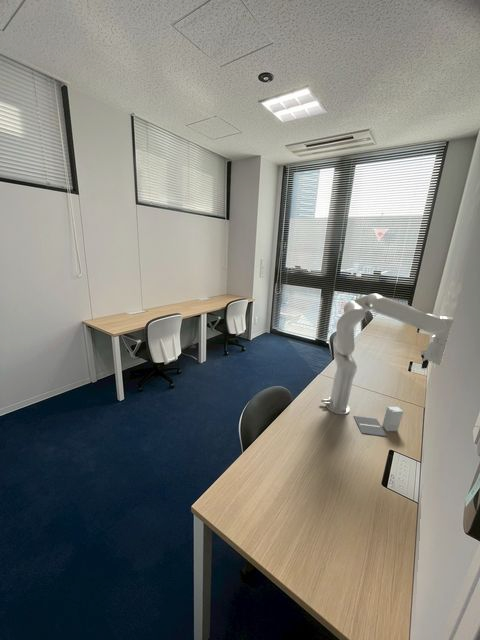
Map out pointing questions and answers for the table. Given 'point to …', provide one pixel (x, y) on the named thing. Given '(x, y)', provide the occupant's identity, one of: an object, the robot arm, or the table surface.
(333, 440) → the table surface
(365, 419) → the mat
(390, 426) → the skincare box
